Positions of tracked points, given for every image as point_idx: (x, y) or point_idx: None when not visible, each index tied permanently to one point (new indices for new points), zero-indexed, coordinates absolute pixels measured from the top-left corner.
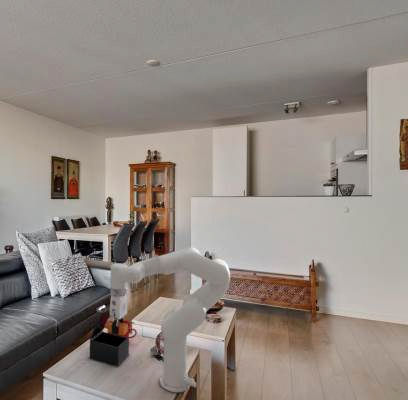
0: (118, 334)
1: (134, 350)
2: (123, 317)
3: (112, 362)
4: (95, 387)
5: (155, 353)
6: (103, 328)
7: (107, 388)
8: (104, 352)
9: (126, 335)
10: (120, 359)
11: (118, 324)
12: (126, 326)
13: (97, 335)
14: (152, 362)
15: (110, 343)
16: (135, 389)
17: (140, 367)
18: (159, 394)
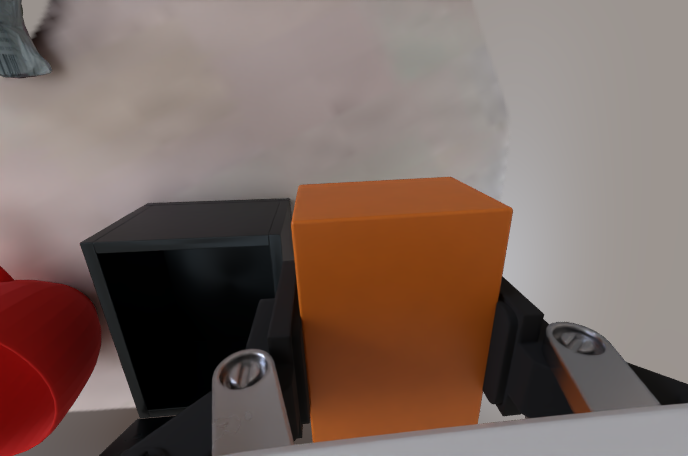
0: (62, 333)
1: (73, 198)
2: (250, 403)
3: (291, 232)
4: None
5: (20, 33)
6: (129, 431)
7: (475, 156)
8: None
9: (11, 292)
10: (256, 206)
11: (414, 341)
12: (365, 208)
13: None
14: (118, 35)
15: (161, 323)
16: (433, 22)
17: (222, 85)
18: None
